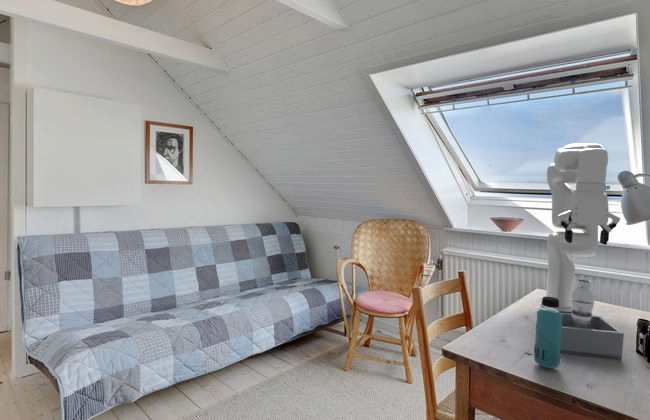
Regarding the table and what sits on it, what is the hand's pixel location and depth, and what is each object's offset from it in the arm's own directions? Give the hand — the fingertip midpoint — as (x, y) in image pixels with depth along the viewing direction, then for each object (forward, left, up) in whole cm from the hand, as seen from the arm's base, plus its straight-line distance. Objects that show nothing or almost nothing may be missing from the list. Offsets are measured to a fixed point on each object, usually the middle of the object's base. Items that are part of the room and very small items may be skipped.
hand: (585, 243), depth 124 cm
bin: (+2, -1, -33) cm, 33 cm away
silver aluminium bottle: (+2, 0, -32) cm, 32 cm away
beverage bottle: (+21, -16, -33) cm, 42 cm away
